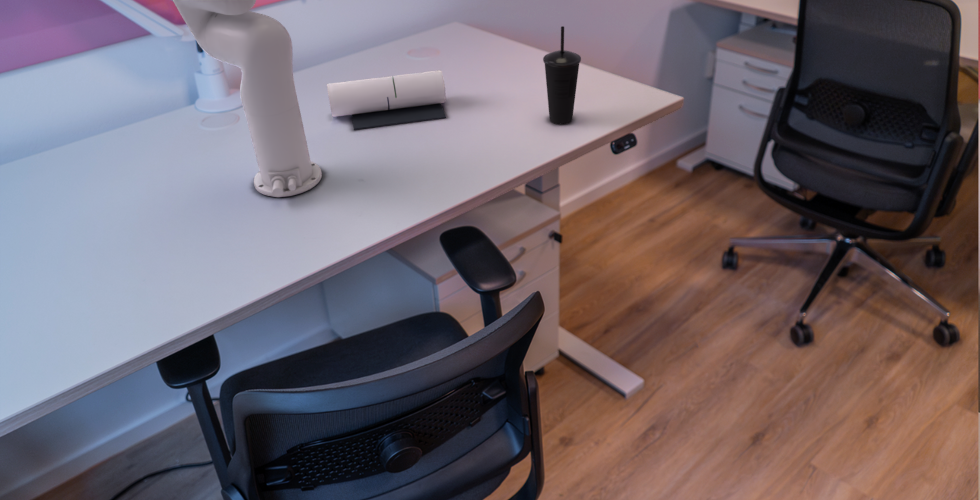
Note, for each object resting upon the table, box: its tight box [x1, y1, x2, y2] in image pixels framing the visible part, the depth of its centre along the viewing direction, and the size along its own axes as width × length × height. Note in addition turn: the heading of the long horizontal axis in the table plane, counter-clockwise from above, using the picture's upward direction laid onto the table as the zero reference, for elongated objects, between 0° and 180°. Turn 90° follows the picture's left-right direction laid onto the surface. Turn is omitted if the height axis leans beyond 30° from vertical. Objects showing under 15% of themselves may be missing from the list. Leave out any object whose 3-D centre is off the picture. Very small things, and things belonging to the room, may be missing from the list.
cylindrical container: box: [326, 69, 447, 118], centre depth 160 cm, size 7×7×25 cm
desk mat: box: [351, 103, 447, 131], centre depth 164 cm, size 18×20×1 cm
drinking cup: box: [542, 25, 582, 126], centre depth 149 cm, size 8×8×20 cm
